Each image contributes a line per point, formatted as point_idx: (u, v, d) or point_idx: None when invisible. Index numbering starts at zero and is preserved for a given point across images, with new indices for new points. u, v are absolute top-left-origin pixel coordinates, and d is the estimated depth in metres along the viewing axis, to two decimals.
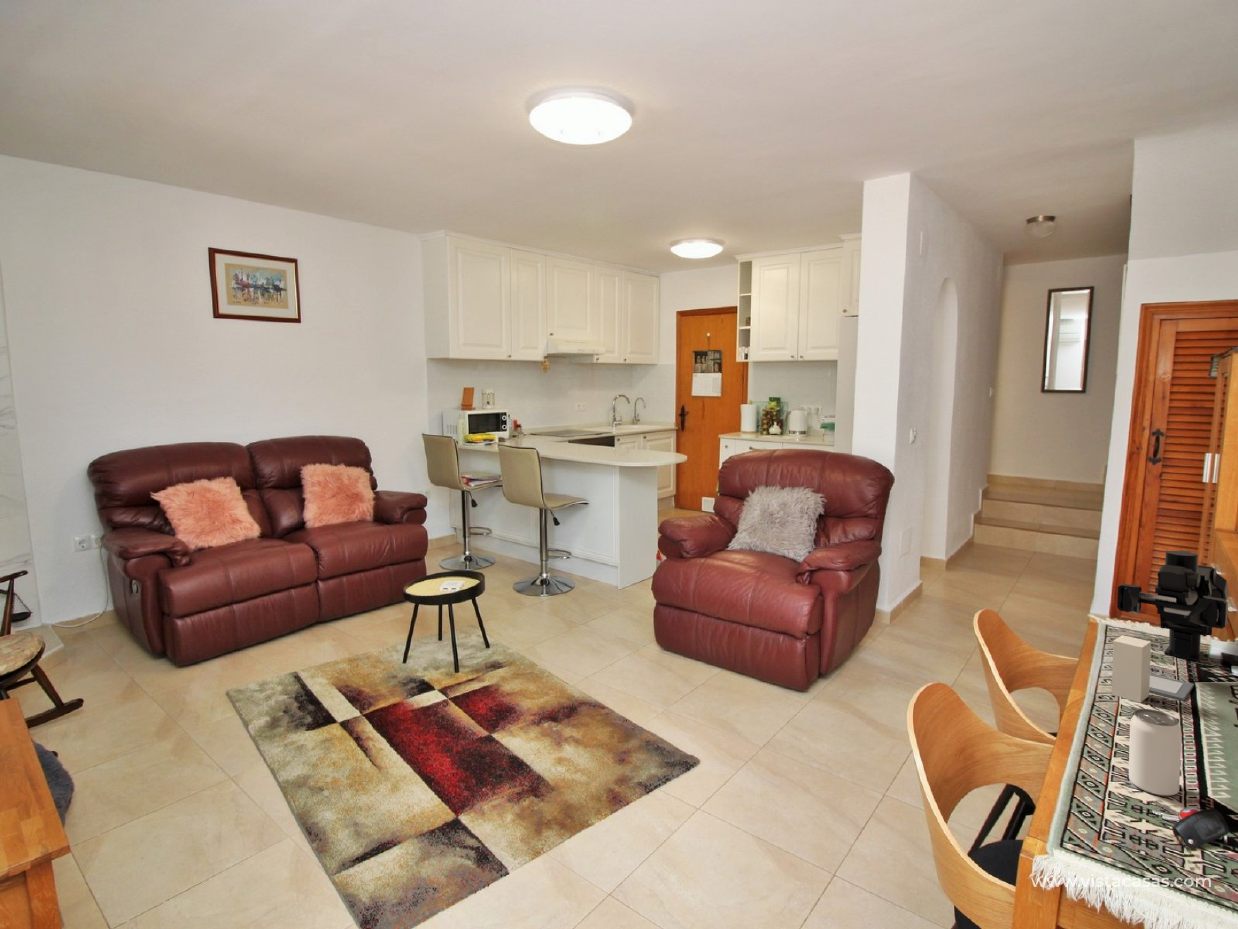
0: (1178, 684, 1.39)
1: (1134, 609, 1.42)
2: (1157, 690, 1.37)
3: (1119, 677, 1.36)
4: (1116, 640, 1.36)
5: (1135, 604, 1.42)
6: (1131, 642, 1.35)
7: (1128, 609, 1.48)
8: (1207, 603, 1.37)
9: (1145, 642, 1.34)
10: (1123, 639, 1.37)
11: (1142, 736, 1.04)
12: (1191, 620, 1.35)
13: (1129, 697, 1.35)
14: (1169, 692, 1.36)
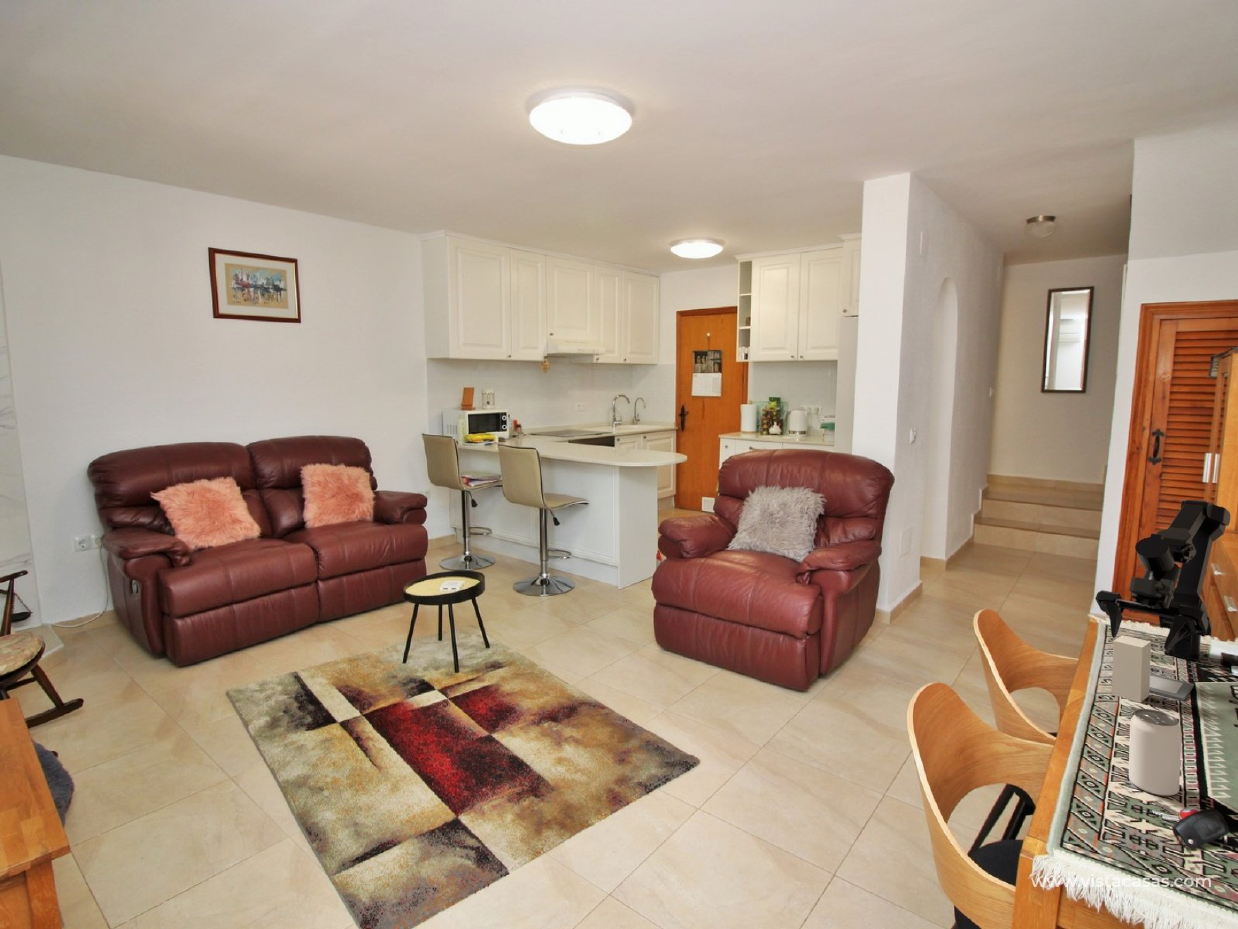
0: (1178, 684, 1.39)
1: (1113, 636, 1.42)
2: (1157, 690, 1.37)
3: (1119, 677, 1.36)
4: (1116, 640, 1.36)
5: (1113, 630, 1.42)
6: (1131, 642, 1.35)
7: None
8: (1182, 621, 1.33)
9: (1145, 642, 1.34)
10: (1123, 639, 1.37)
11: (1142, 736, 1.04)
12: (1168, 648, 1.34)
13: (1129, 697, 1.35)
14: (1169, 692, 1.36)
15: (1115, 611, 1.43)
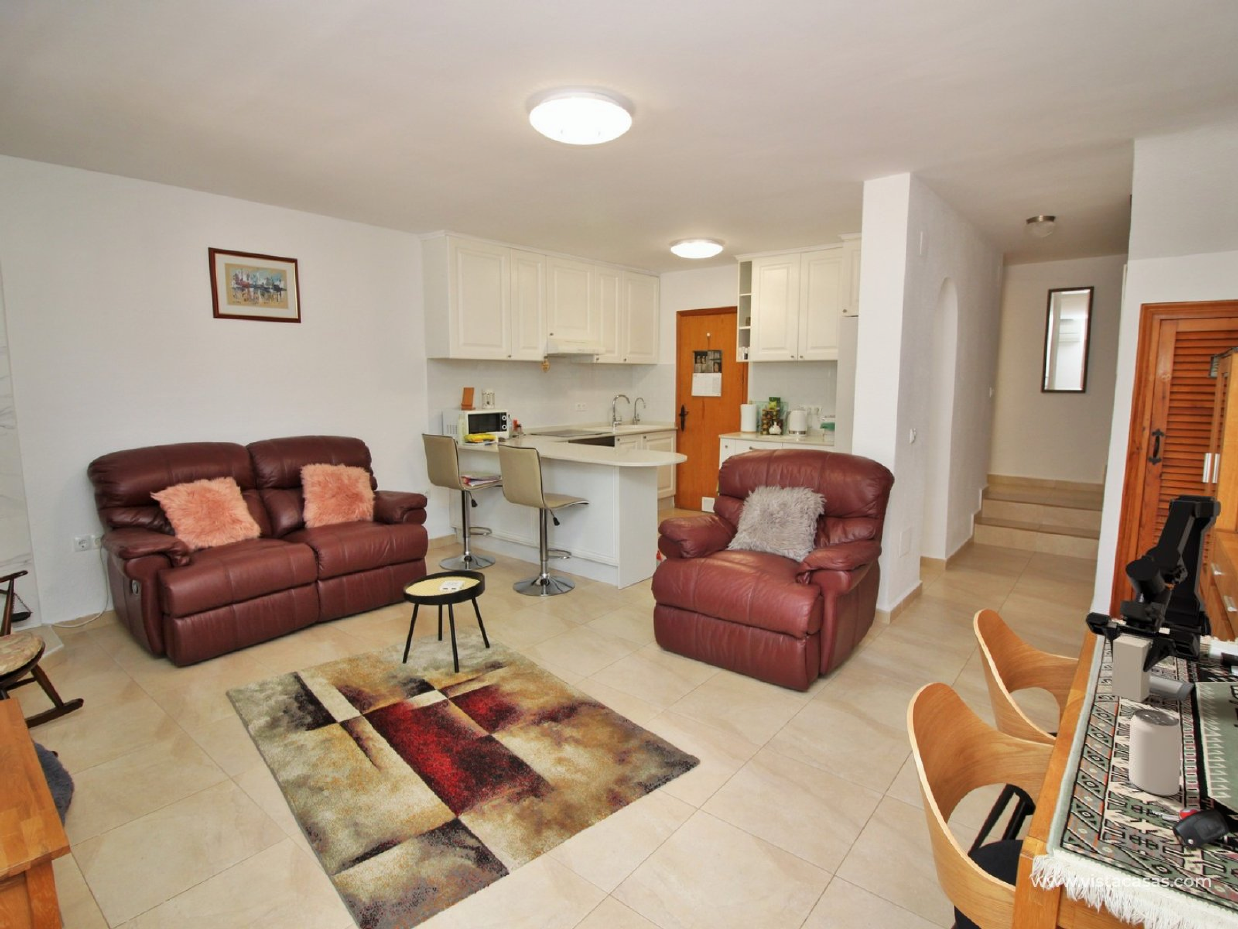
0: (1178, 684, 1.39)
1: None
2: (1157, 690, 1.37)
3: (1119, 677, 1.36)
4: (1116, 640, 1.36)
5: None
6: (1131, 642, 1.35)
7: None
8: (1161, 643, 1.32)
9: (1145, 642, 1.34)
10: (1123, 639, 1.37)
11: (1143, 736, 1.04)
12: (1147, 670, 1.33)
13: (1129, 697, 1.35)
14: (1169, 692, 1.36)
15: (1116, 636, 1.39)
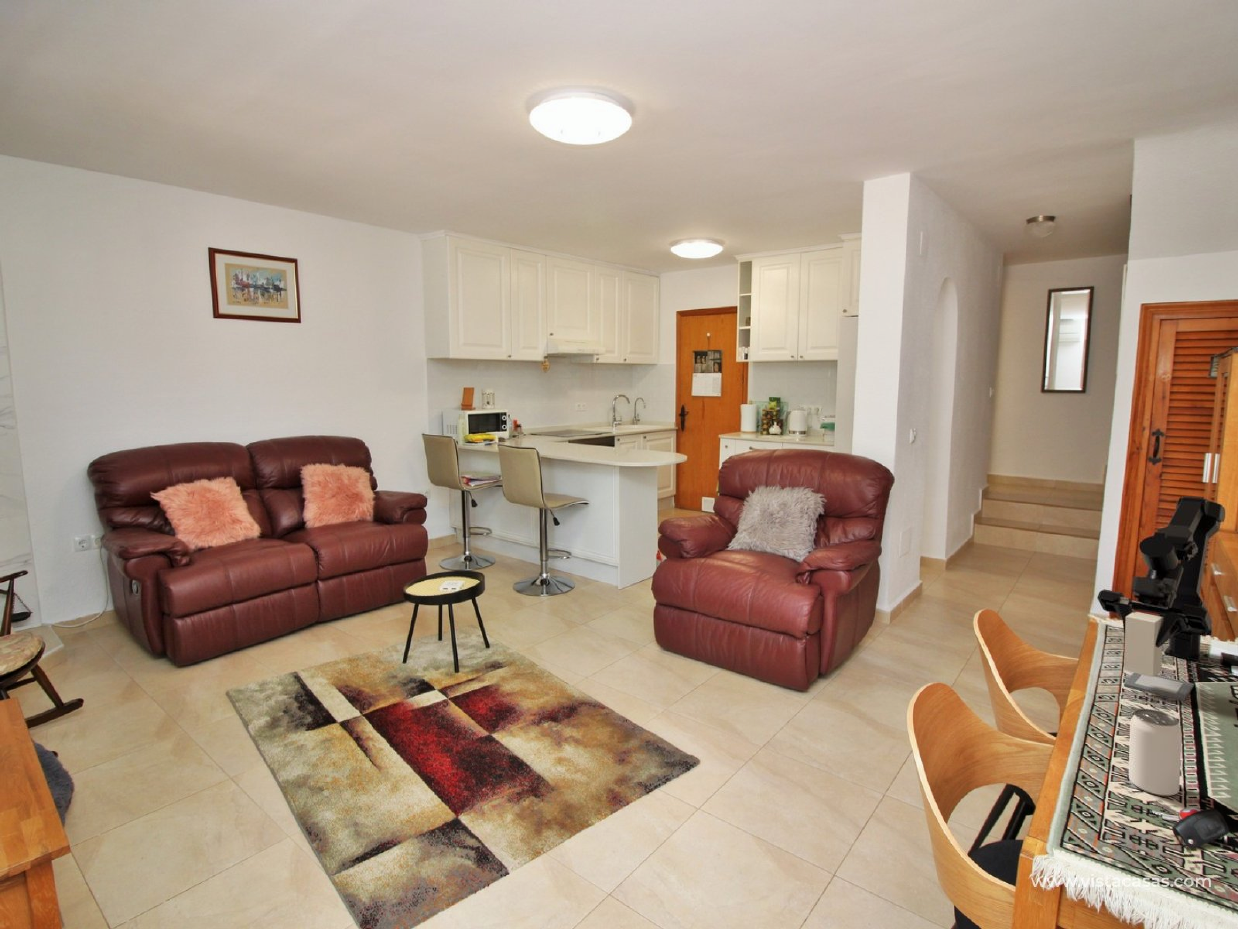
0: (1178, 684, 1.39)
1: None
2: (1157, 690, 1.37)
3: (1132, 652, 1.37)
4: (1128, 616, 1.37)
5: None
6: (1143, 617, 1.36)
7: None
8: (1173, 618, 1.33)
9: (1157, 618, 1.35)
10: (1136, 615, 1.38)
11: (1143, 736, 1.04)
12: (1160, 645, 1.34)
13: (1142, 672, 1.36)
14: (1169, 692, 1.36)
15: (1128, 613, 1.40)
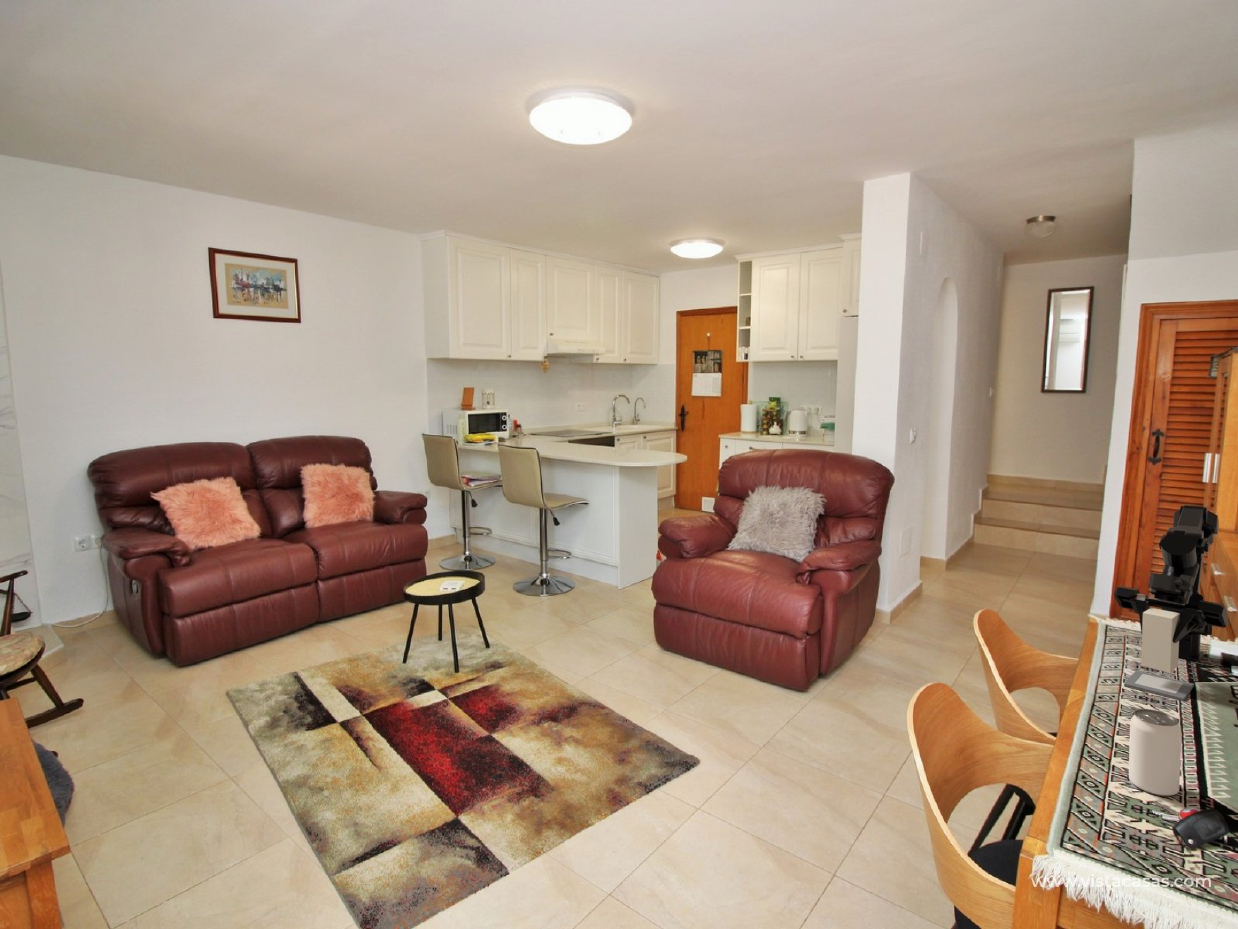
0: (1178, 684, 1.39)
1: None
2: (1157, 690, 1.37)
3: (1149, 648, 1.39)
4: (1145, 612, 1.39)
5: None
6: (1160, 613, 1.38)
7: None
8: (1190, 614, 1.35)
9: (1174, 614, 1.37)
10: (1152, 611, 1.39)
11: (1142, 736, 1.04)
12: (1177, 641, 1.36)
13: (1159, 667, 1.38)
14: (1169, 692, 1.36)
15: (1145, 609, 1.42)
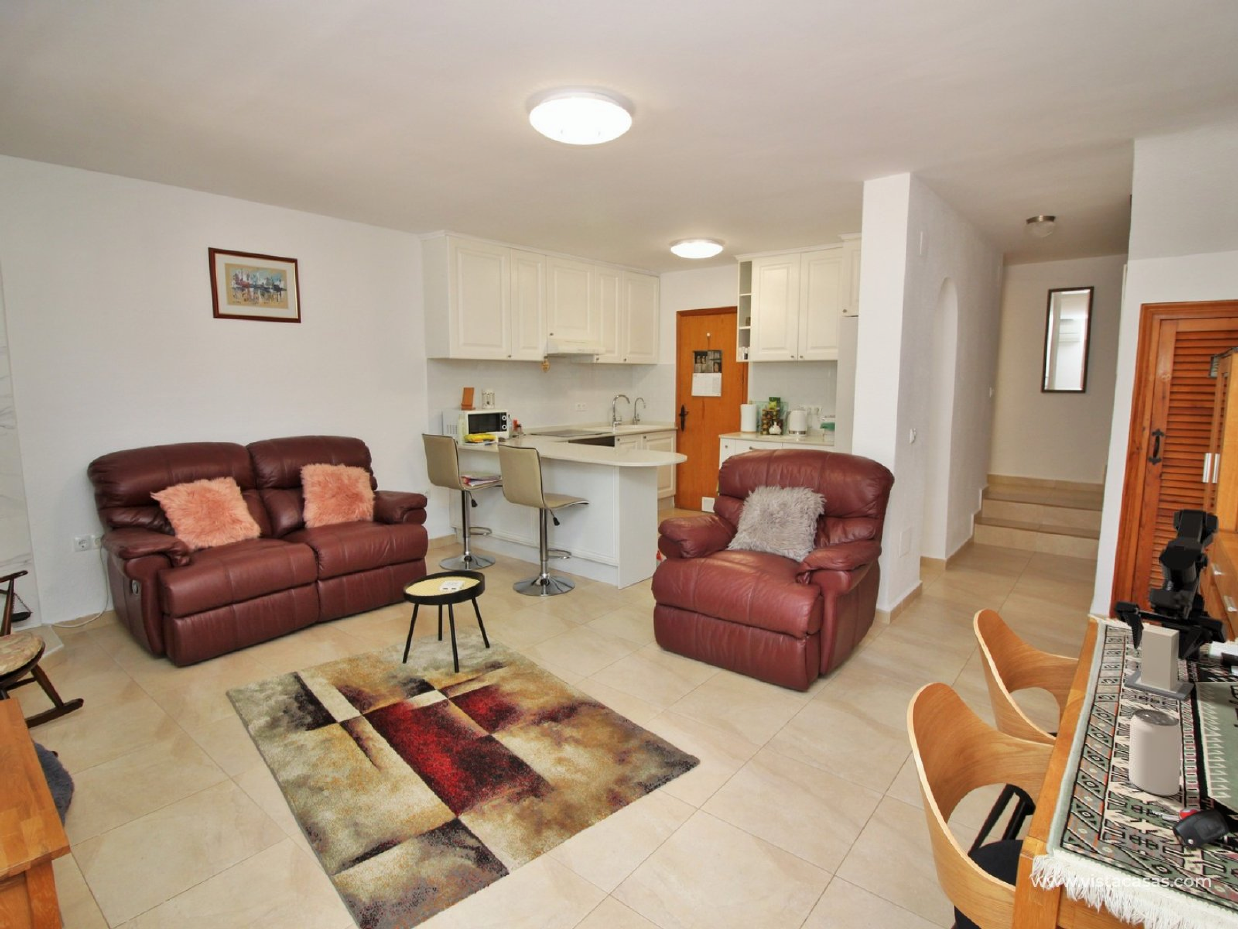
0: (1178, 684, 1.39)
1: (1135, 648, 1.42)
2: (1157, 690, 1.37)
3: (1148, 665, 1.39)
4: (1145, 629, 1.39)
5: (1135, 641, 1.42)
6: (1160, 631, 1.38)
7: None
8: (1198, 631, 1.34)
9: (1173, 631, 1.38)
10: (1152, 628, 1.40)
11: (1143, 736, 1.04)
12: (1184, 658, 1.35)
13: (1158, 685, 1.38)
14: (1169, 692, 1.36)
15: (1137, 622, 1.43)
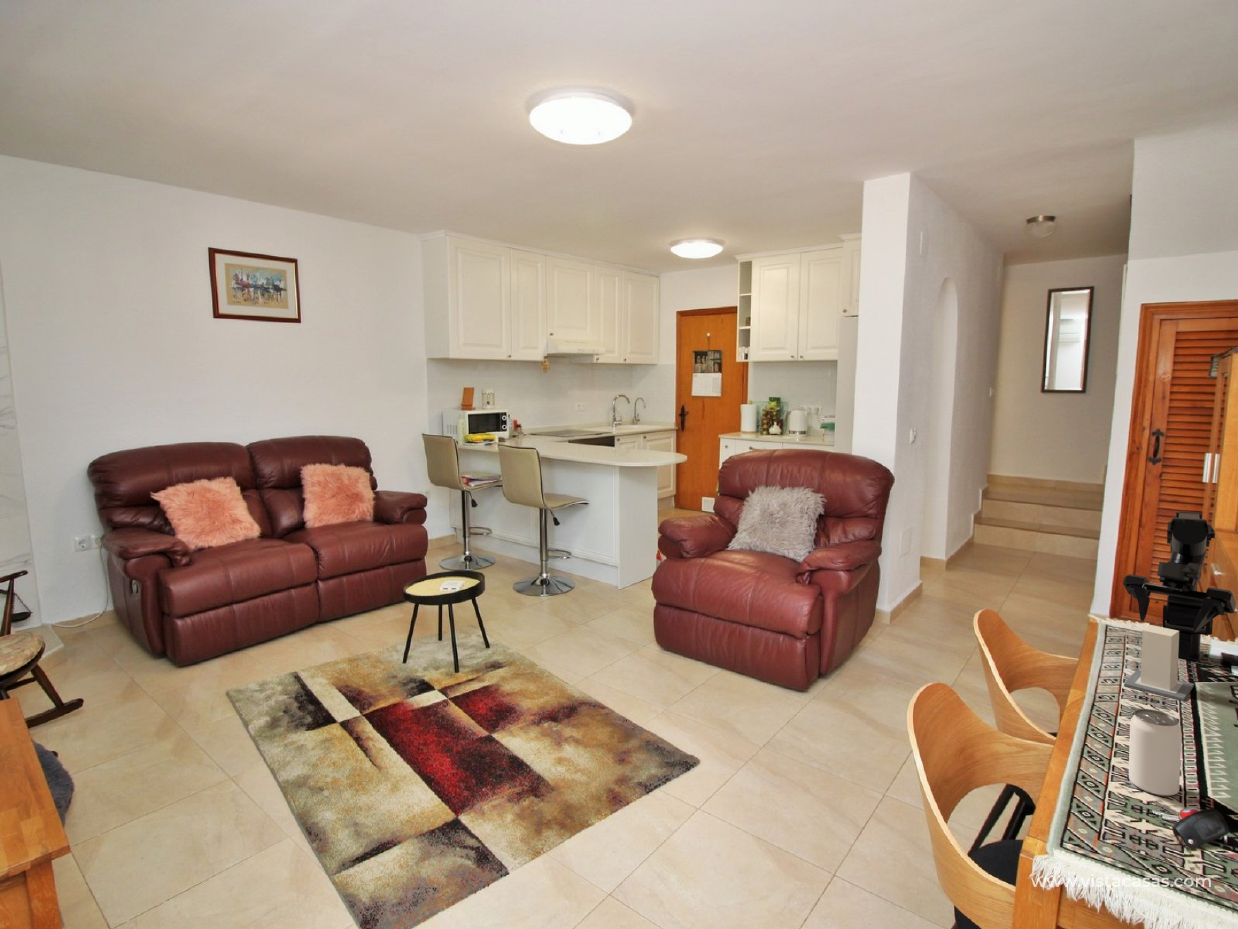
0: (1178, 684, 1.39)
1: (1142, 620, 1.45)
2: (1157, 690, 1.37)
3: (1148, 665, 1.39)
4: (1145, 629, 1.39)
5: (1142, 613, 1.45)
6: (1160, 631, 1.38)
7: None
8: (1211, 603, 1.36)
9: (1173, 631, 1.38)
10: (1152, 628, 1.40)
11: (1143, 736, 1.04)
12: (1197, 630, 1.37)
13: (1158, 685, 1.38)
14: (1169, 692, 1.36)
15: (1143, 595, 1.46)
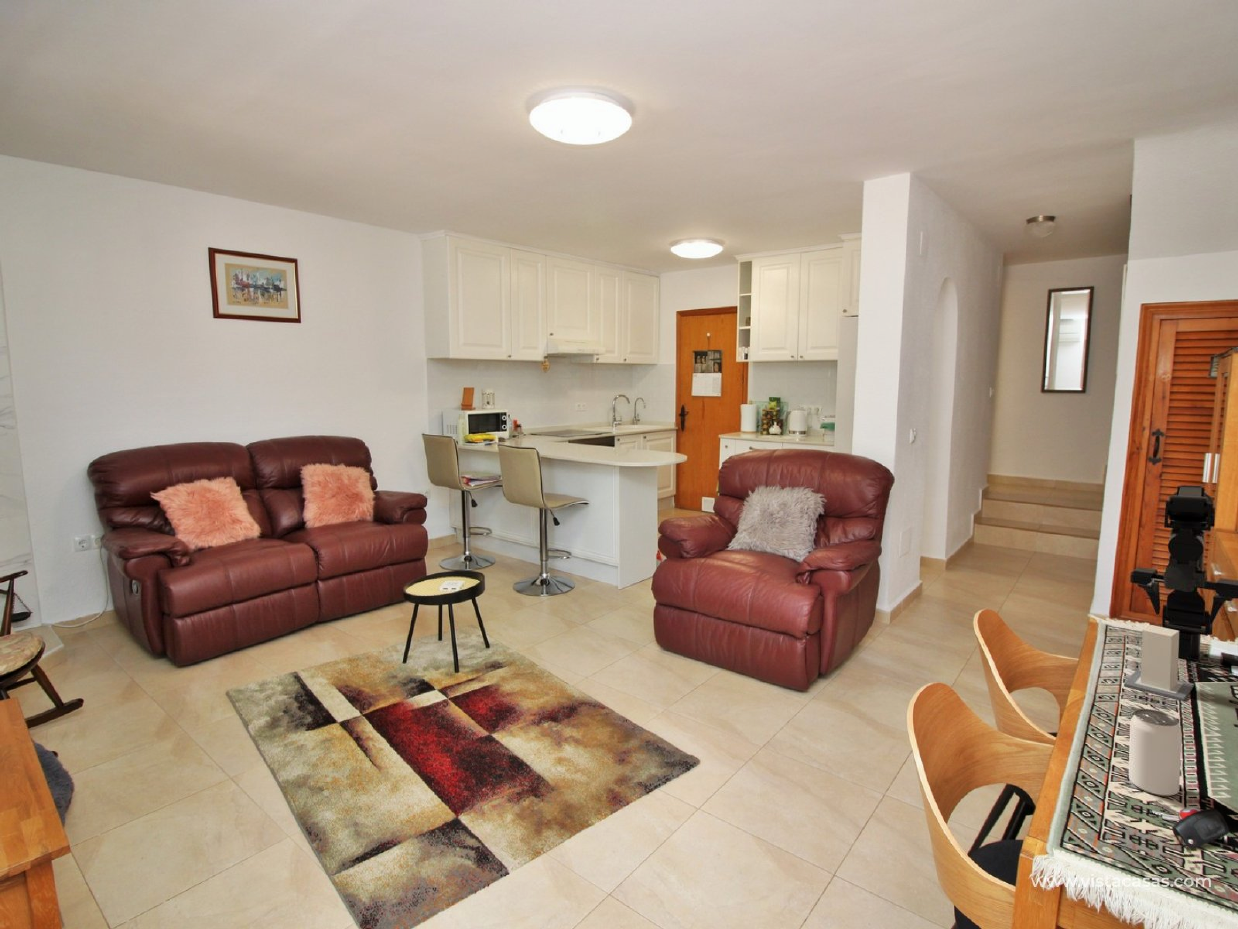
0: (1178, 684, 1.39)
1: None
2: (1157, 690, 1.37)
3: (1148, 665, 1.39)
4: (1145, 629, 1.39)
5: (1156, 609, 1.47)
6: (1160, 631, 1.38)
7: None
8: (1222, 601, 1.37)
9: (1173, 631, 1.38)
10: (1152, 628, 1.40)
11: (1143, 736, 1.04)
12: (1213, 621, 1.40)
13: (1158, 685, 1.38)
14: (1169, 692, 1.36)
15: (1153, 592, 1.46)
